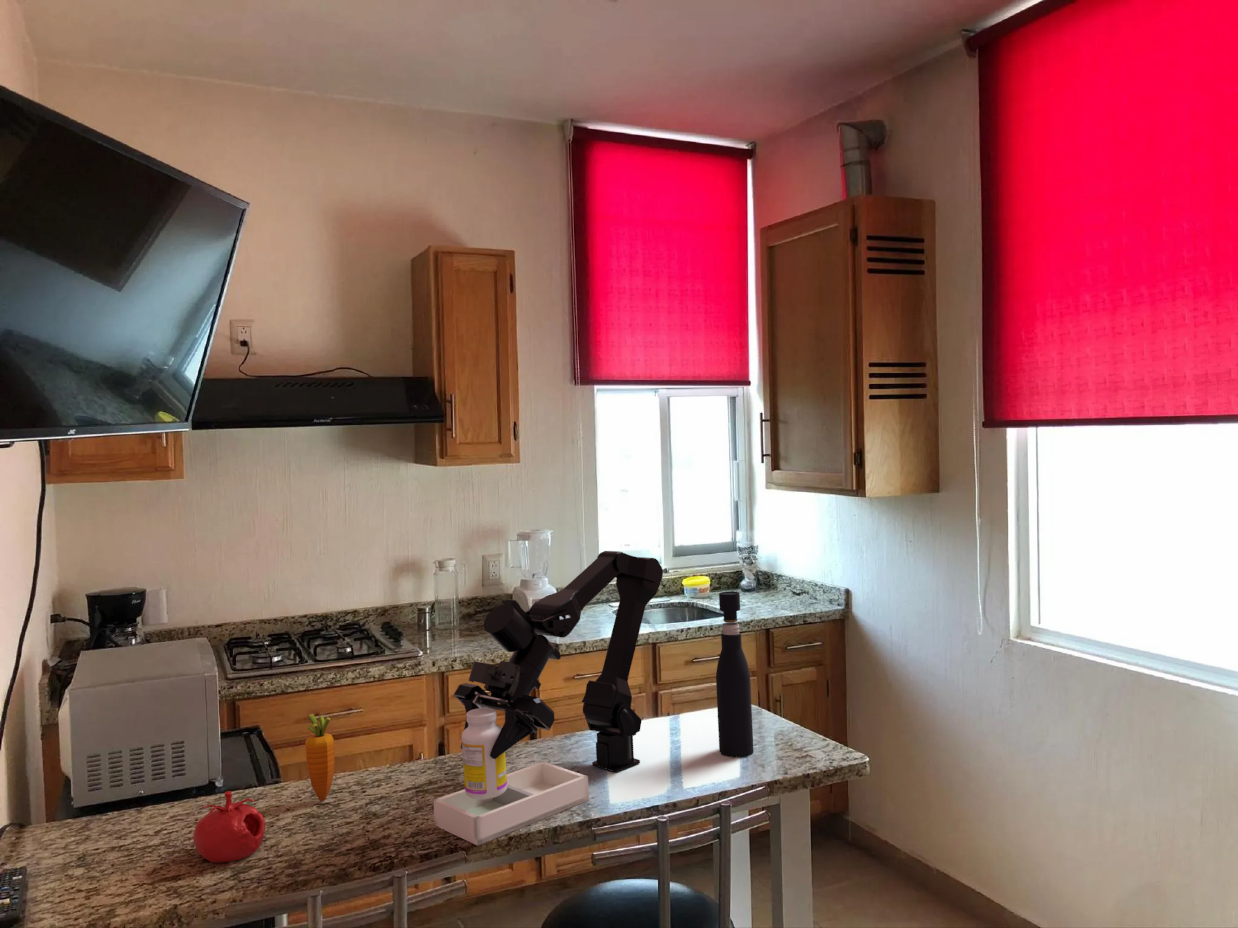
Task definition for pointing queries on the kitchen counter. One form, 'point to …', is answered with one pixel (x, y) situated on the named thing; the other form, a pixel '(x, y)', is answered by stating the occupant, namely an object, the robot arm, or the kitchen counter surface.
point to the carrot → (320, 757)
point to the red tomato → (229, 831)
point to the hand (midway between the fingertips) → (477, 753)
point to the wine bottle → (733, 685)
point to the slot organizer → (512, 803)
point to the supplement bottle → (482, 756)
